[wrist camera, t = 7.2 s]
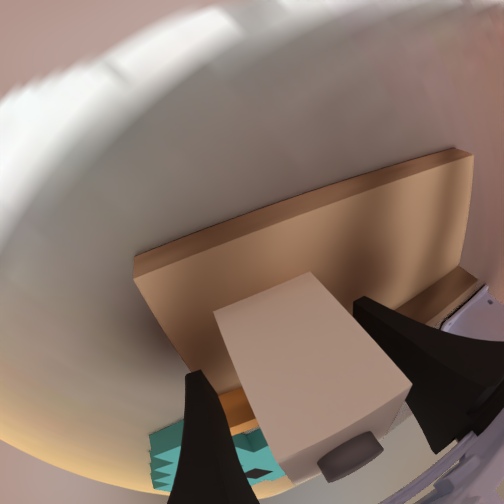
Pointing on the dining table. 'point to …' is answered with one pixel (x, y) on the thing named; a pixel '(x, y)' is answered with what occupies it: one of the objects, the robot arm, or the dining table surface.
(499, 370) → the robot arm
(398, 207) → the board
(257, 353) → the cream block with knob
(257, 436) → the alien figure
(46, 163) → the dining table surface
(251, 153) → the dining table surface
